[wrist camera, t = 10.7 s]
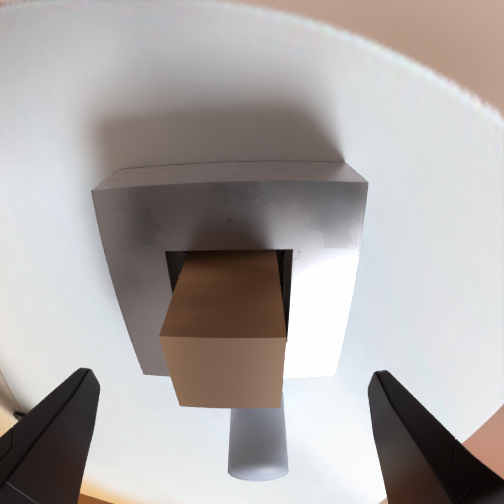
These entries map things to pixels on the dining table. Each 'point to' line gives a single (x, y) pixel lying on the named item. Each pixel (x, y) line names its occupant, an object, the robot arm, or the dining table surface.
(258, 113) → the dining table surface
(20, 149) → the dining table surface
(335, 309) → the socket block
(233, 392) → the square peg
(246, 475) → the round dowel
